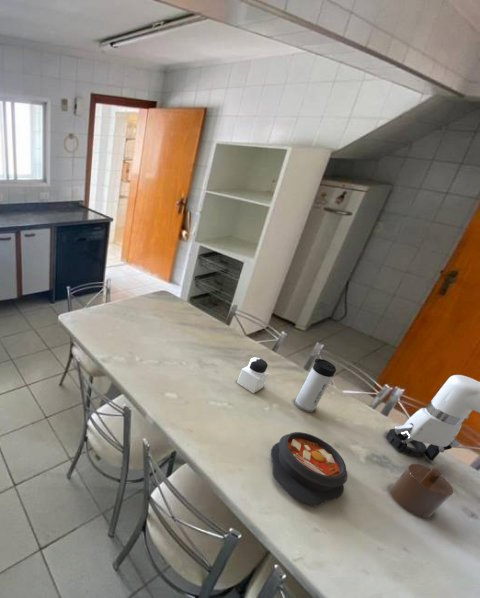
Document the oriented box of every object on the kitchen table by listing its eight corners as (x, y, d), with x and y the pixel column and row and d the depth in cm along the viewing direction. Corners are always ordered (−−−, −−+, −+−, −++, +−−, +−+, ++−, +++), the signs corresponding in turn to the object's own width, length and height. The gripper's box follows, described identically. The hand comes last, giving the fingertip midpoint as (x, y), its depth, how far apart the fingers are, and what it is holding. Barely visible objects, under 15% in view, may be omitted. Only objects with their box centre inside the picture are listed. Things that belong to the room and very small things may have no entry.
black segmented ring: (411, 437, 112) (415, 432, 111) (429, 460, 104) (433, 455, 103) (380, 430, 114) (384, 425, 113) (395, 452, 106) (399, 447, 105)
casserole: (328, 527, 83) (343, 508, 79) (254, 474, 95) (264, 455, 91) (350, 469, 99) (363, 451, 95) (284, 430, 111) (293, 412, 107)
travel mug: (294, 397, 126) (315, 355, 116) (314, 405, 122) (337, 362, 113) (292, 406, 121) (314, 363, 112) (313, 415, 118) (337, 372, 109)
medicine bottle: (263, 387, 129) (273, 363, 124) (253, 394, 125) (263, 369, 120) (246, 376, 134) (255, 353, 129) (236, 382, 130) (245, 358, 125)
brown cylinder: (418, 491, 94) (445, 462, 88) (439, 522, 86) (469, 492, 80) (383, 482, 96) (407, 452, 90) (400, 511, 88) (427, 481, 82)
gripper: (470, 411, 98) (436, 450, 107) (403, 397, 102) (375, 435, 110) (490, 431, 92) (453, 471, 100) (418, 414, 96) (387, 454, 104)
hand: (412, 452), depth 105 cm, fingers closed on black segmented ring, 7 cm apart
